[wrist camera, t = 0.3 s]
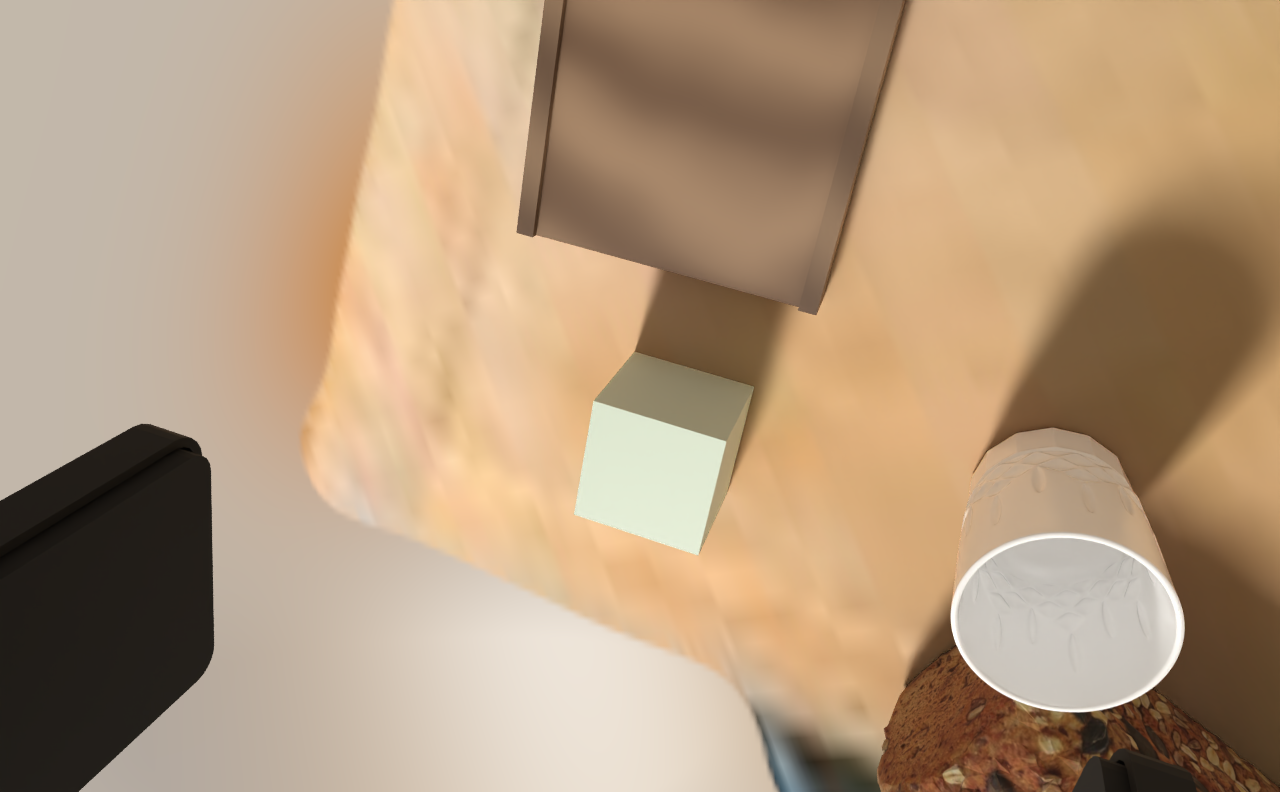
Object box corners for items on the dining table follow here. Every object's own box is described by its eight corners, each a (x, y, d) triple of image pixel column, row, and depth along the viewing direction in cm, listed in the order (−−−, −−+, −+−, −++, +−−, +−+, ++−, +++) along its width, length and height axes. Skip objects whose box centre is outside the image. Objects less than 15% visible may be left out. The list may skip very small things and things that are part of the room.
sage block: (635, 351, 49) (593, 400, 44) (754, 385, 48) (726, 441, 43) (615, 455, 52) (574, 514, 46) (727, 491, 50) (698, 555, 45)
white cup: (958, 411, 45) (952, 525, 37) (1153, 416, 43) (1196, 540, 34) (955, 561, 48) (949, 700, 40) (1137, 574, 46) (1173, 725, 37)
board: (581, -160, 40) (564, -164, 39) (931, -92, 38) (928, -94, 36) (532, 222, 48) (516, 232, 46) (822, 301, 45) (816, 315, 43)
